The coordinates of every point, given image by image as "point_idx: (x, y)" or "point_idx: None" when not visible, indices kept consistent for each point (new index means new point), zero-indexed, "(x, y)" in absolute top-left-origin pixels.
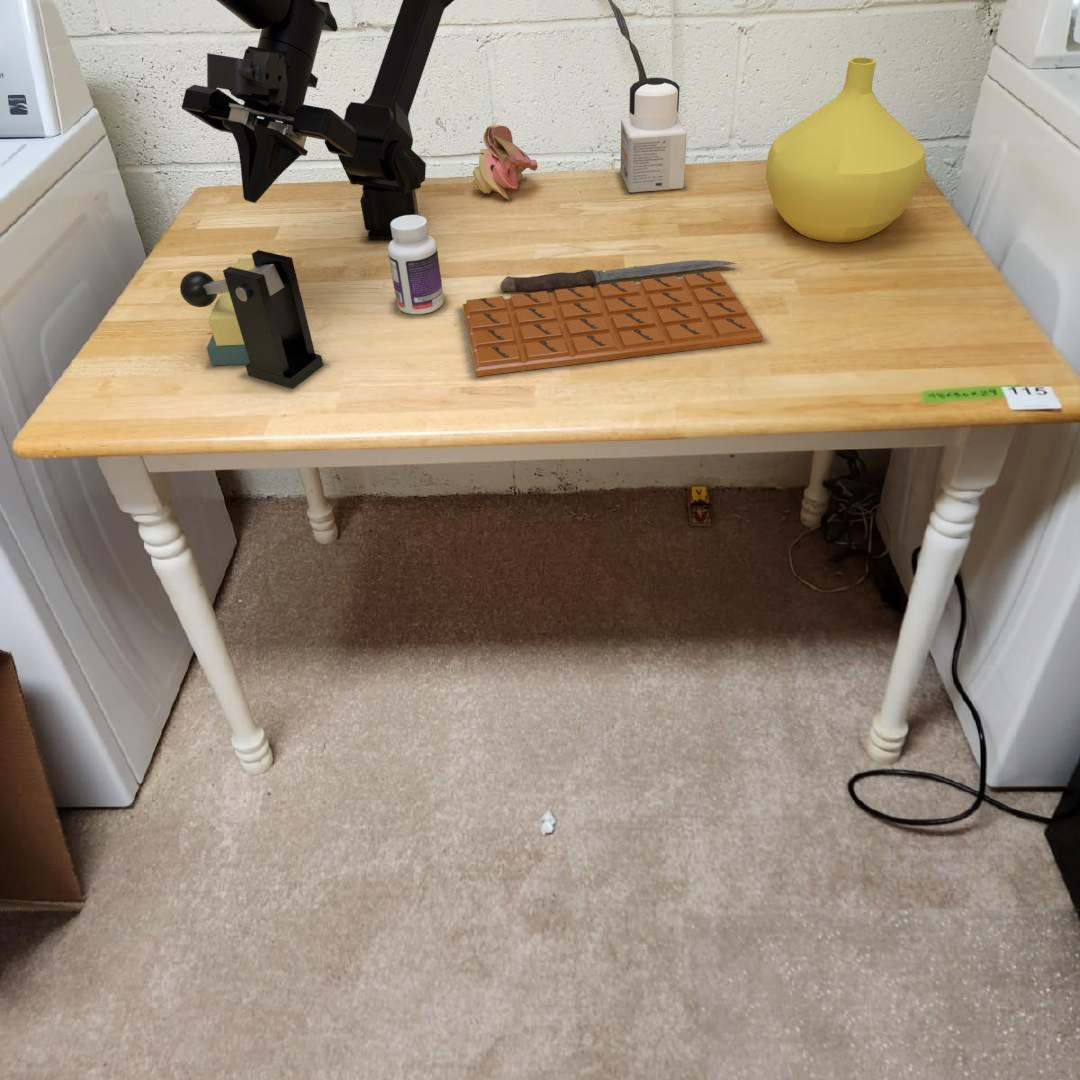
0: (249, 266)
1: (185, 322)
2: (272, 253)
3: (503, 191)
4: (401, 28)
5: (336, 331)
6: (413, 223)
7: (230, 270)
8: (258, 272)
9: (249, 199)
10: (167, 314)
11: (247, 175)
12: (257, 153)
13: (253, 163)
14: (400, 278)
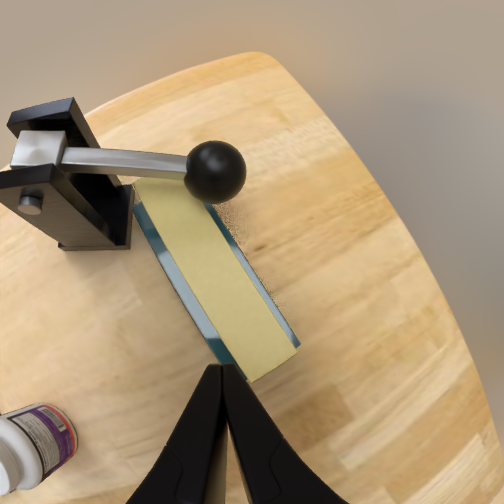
0: (250, 336)
1: (320, 255)
2: (17, 183)
3: None
4: None
5: (96, 331)
6: None
7: (60, 103)
8: (22, 132)
9: (209, 364)
10: (359, 260)
11: (232, 414)
12: (188, 493)
13: (210, 456)
14: (21, 413)
